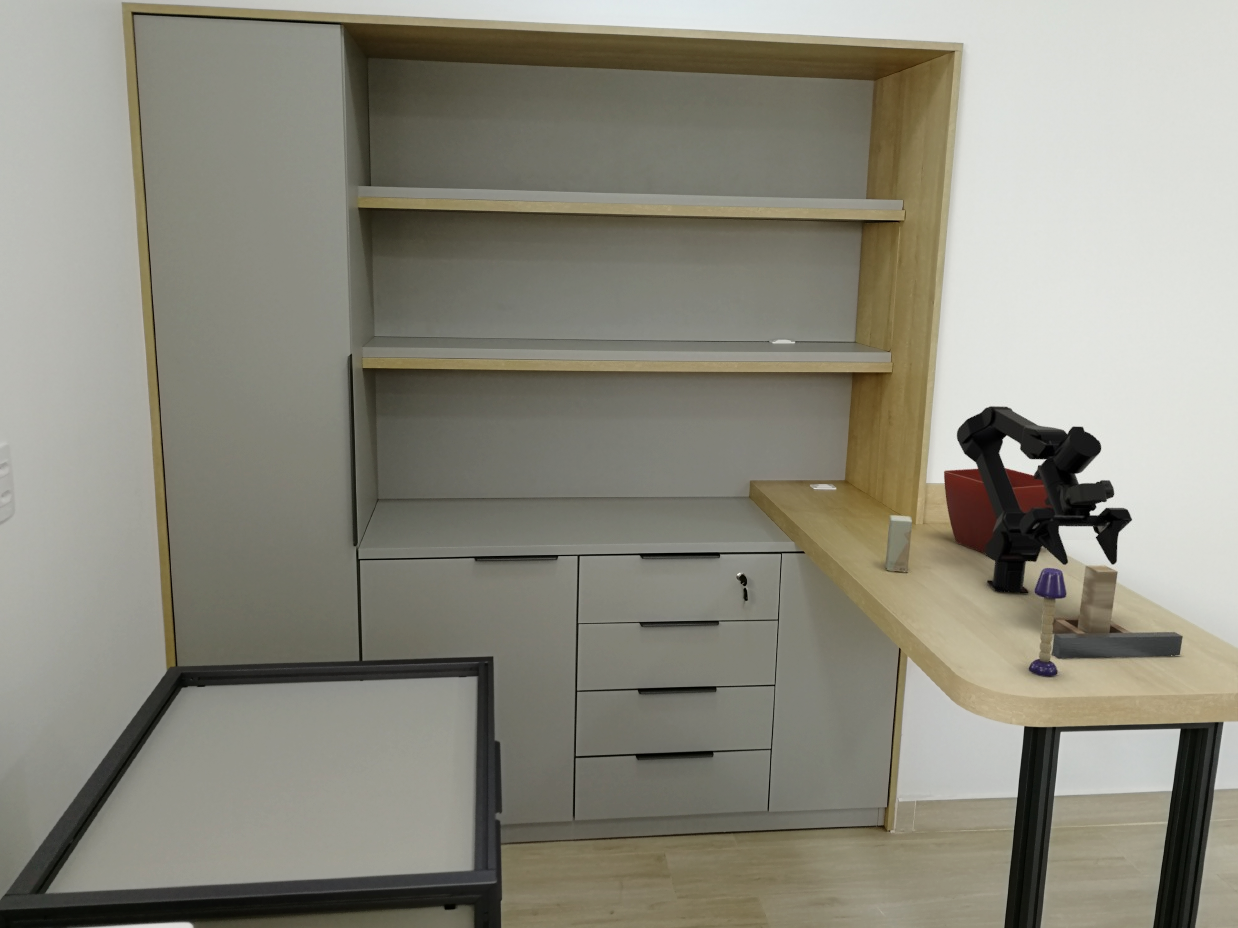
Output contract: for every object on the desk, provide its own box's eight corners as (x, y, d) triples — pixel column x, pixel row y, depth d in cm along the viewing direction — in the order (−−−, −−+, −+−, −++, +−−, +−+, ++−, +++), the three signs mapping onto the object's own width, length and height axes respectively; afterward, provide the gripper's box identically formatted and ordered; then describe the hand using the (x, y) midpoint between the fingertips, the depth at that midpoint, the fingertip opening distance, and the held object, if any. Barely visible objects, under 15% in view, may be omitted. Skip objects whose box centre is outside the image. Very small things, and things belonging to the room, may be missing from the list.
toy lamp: (1024, 672, 162) (1036, 571, 159) (1025, 663, 166) (1037, 563, 163) (1057, 678, 160) (1070, 576, 157) (1057, 668, 165) (1070, 568, 161)
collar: (1049, 630, 182) (1051, 617, 182) (1101, 629, 184) (1102, 616, 183) (1082, 651, 173) (1084, 637, 172) (1136, 650, 174) (1138, 636, 174)
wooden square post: (1076, 636, 180) (1085, 565, 177) (1095, 636, 180) (1104, 565, 178) (1088, 644, 176) (1098, 571, 174) (1107, 644, 177) (1117, 571, 174)
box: (907, 573, 214) (912, 521, 212) (886, 571, 215) (891, 520, 213) (905, 566, 219) (910, 515, 217) (885, 564, 220) (889, 514, 218)
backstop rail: (1051, 653, 171) (1054, 633, 170) (1171, 651, 174) (1174, 631, 174) (1058, 658, 169) (1061, 638, 168) (1179, 655, 172) (1182, 636, 172)
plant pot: (1058, 555, 233) (1067, 483, 230) (996, 563, 224) (1005, 488, 221) (994, 534, 250) (1002, 466, 246) (934, 541, 241) (941, 470, 238)
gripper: (1035, 462, 180) (1063, 540, 171) (1133, 464, 182) (1165, 540, 174) (1007, 496, 189) (1032, 572, 180) (1100, 497, 192) (1129, 571, 183)
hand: (1090, 563), depth 179 cm, fingers open, 9 cm apart
